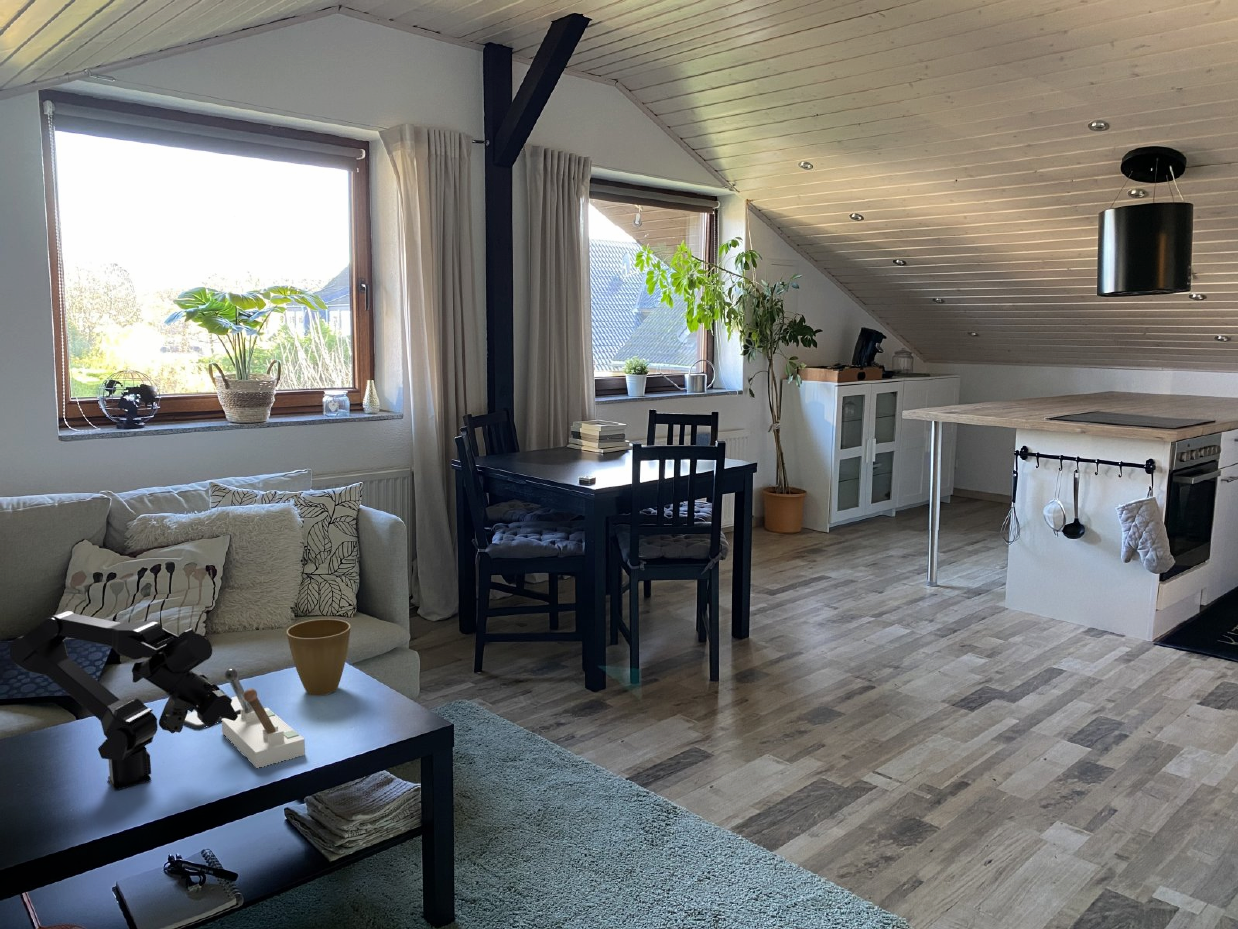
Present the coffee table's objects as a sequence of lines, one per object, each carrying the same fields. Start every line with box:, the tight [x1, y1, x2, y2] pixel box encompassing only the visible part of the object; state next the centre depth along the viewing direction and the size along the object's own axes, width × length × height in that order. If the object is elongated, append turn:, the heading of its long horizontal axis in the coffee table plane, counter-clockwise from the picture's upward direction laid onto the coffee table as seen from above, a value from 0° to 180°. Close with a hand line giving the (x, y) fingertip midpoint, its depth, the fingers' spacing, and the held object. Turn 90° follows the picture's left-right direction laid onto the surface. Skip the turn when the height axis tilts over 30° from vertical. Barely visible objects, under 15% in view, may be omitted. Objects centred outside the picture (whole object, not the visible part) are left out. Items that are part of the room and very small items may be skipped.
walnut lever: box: [244, 688, 276, 734], centre depth 195 cm, size 3×3×12 cm
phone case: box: [183, 695, 243, 730], centre depth 219 cm, size 9×2×16 cm
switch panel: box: [221, 707, 306, 769], centre depth 202 cm, size 10×22×6 cm, turn 39°
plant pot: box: [286, 618, 351, 697], centre depth 232 cm, size 15×15×16 cm
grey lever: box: [224, 668, 253, 713], centre depth 205 cm, size 3×3×12 cm
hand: (235, 718), depth 191 cm, fingers closed
